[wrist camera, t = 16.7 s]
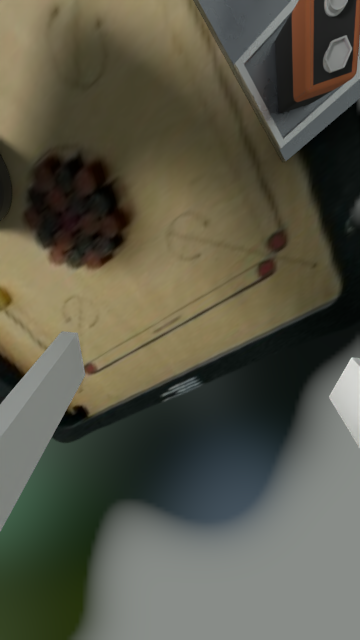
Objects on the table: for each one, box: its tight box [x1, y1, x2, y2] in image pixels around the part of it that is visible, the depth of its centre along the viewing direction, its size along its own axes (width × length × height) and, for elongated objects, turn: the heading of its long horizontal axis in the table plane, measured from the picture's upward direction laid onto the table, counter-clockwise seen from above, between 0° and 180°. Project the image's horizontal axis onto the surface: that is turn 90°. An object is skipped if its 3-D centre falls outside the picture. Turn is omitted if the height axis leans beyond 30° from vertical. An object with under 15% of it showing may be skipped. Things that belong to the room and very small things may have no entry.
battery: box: [275, 0, 360, 113], centre depth 24 cm, size 4×7×10 cm, turn 15°
